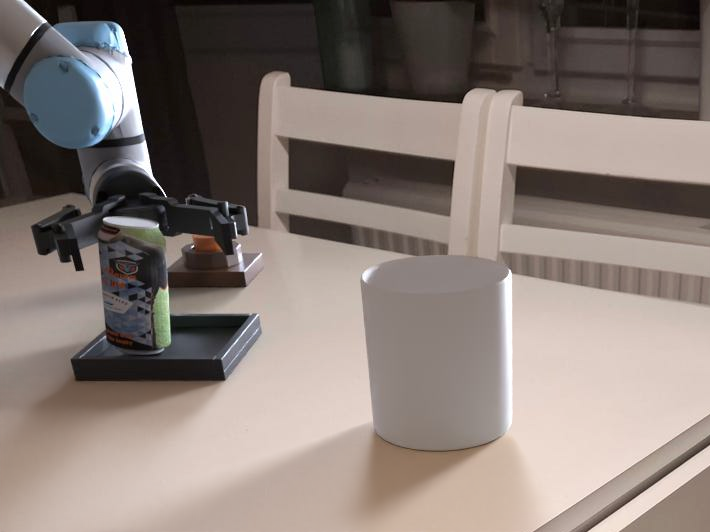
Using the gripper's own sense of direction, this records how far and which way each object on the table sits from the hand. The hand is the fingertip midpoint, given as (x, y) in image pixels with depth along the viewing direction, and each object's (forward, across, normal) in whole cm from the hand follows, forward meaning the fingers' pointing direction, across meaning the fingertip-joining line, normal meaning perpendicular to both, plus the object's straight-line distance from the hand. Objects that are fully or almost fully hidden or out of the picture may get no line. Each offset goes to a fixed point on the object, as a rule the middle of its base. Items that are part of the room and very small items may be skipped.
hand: (153, 247), depth 92 cm
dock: (-3, 0, -11) cm, 11 cm away
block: (-32, -9, -11) cm, 35 cm away
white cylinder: (+25, -19, -11) cm, 33 cm away
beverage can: (-3, +2, -10) cm, 11 cm away
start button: (-32, -9, -8) cm, 34 cm away
